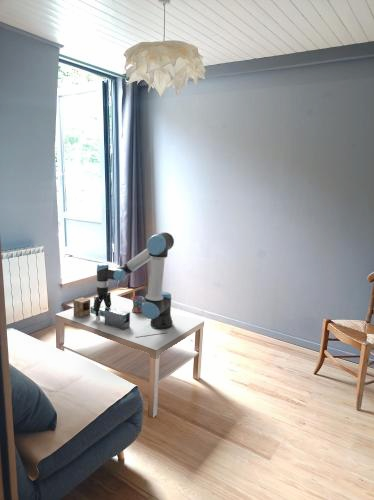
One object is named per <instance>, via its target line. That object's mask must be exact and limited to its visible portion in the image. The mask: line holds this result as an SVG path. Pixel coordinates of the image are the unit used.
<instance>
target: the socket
mask: <svg viewBox="0 0 374 500" xmlns="http://www.w3.org/2000/svg"><path fill="white" fill-rule="evenodd" d="M73 316H75V317H76V318H81V319H84V318H86V317H89V316H91V299H89V298H87V297H79V298H76V299H73ZM83 317H84V318H83Z"/></svg>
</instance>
